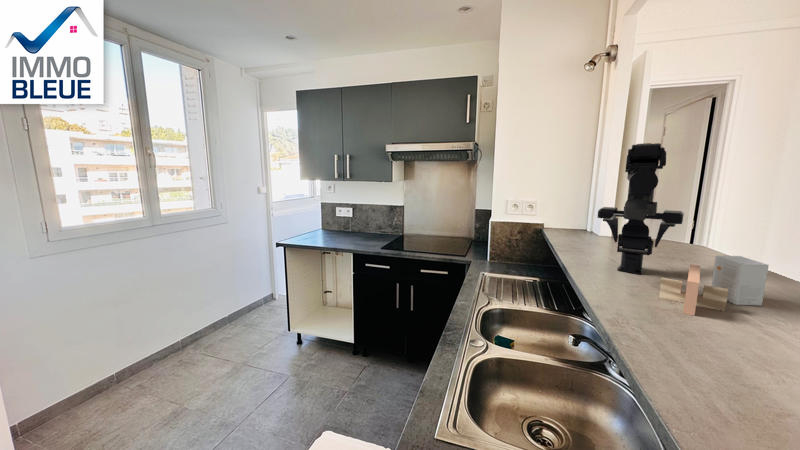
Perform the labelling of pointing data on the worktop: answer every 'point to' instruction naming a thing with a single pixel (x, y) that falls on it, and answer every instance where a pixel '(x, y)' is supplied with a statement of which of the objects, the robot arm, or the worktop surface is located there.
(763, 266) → the small box
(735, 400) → the worktop surface
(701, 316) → the worktop surface
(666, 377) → the worktop surface
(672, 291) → the birch notched block
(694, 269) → the terracotta plate
